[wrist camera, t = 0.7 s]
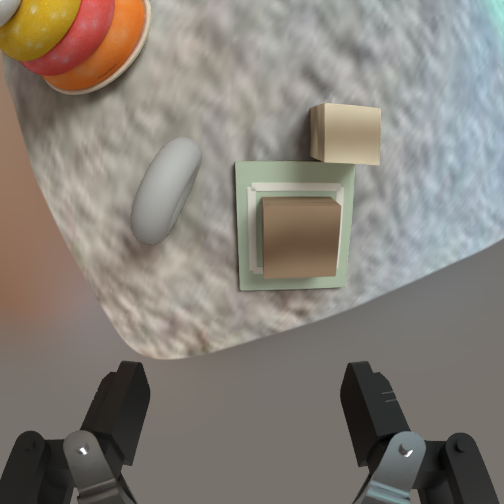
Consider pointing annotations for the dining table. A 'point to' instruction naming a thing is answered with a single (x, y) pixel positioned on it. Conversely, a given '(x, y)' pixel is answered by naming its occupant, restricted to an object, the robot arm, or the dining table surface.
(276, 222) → the walnut block
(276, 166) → the build board
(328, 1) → the dining table surface
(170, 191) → the donut
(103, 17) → the stacking toy
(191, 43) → the dining table surface
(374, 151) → the maple block
